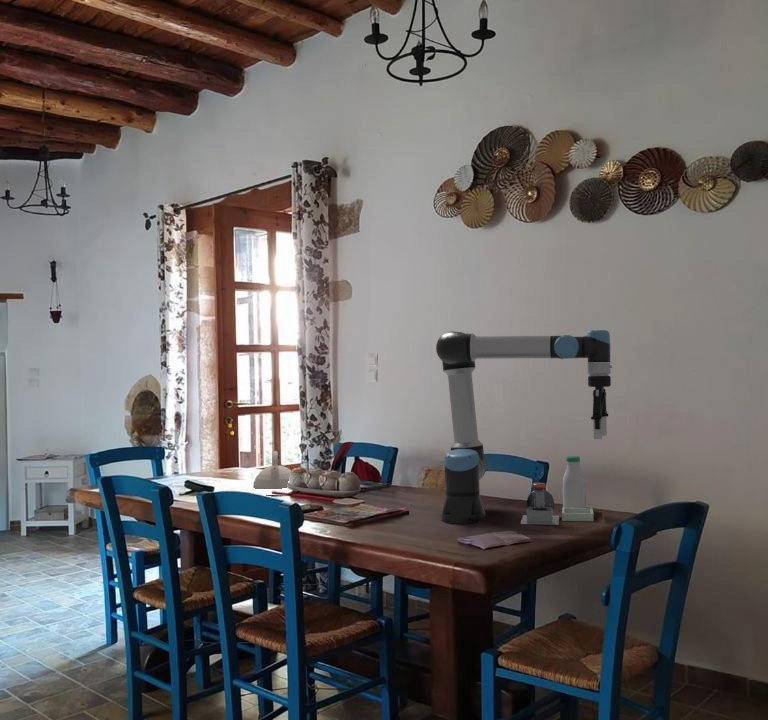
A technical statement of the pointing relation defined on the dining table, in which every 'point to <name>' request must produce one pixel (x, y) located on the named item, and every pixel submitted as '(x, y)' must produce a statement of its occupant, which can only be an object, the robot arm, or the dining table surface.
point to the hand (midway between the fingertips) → (600, 437)
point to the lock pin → (539, 495)
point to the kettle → (273, 475)
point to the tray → (577, 514)
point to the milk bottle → (573, 484)
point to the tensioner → (540, 511)
